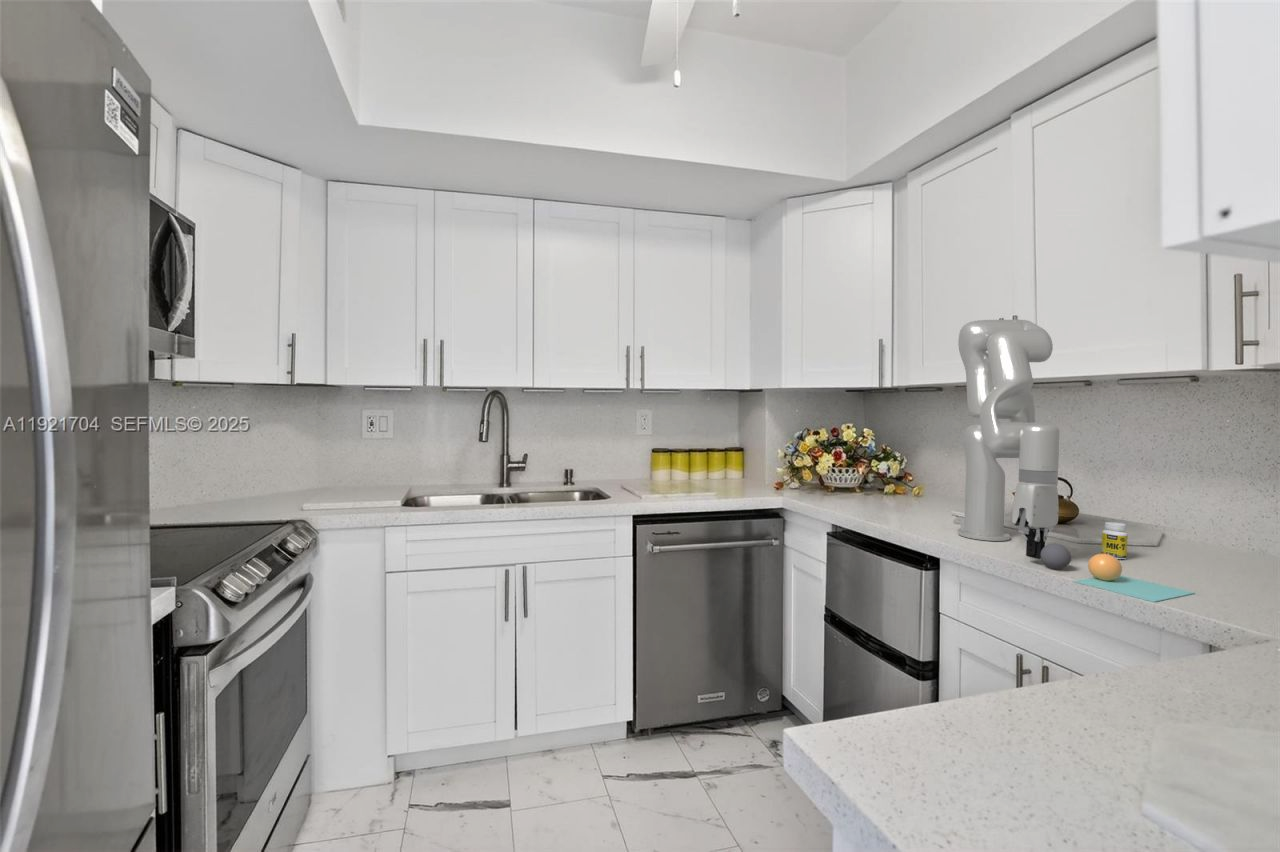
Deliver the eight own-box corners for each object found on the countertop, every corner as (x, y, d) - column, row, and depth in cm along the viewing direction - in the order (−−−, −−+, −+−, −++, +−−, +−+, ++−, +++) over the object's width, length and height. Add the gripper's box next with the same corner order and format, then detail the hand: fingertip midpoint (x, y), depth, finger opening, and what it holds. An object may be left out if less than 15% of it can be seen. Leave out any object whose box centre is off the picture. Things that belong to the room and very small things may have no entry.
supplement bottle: (1103, 558, 144) (1104, 523, 144) (1099, 554, 148) (1100, 520, 148) (1128, 561, 142) (1130, 526, 141) (1123, 557, 146) (1125, 522, 145)
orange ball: (1082, 552, 126) (1112, 557, 121) (1098, 550, 129) (1128, 555, 124) (1082, 578, 126) (1111, 585, 121) (1097, 576, 129) (1127, 582, 124)
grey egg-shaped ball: (1056, 542, 131) (1063, 568, 130) (1072, 541, 133) (1080, 566, 132) (1031, 546, 136) (1038, 571, 135) (1047, 544, 138) (1055, 569, 137)
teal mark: (1074, 581, 124) (1074, 580, 124) (1114, 574, 130) (1114, 573, 130) (1154, 602, 111) (1154, 601, 111) (1195, 593, 117) (1195, 592, 117)
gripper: (1042, 475, 144) (1039, 551, 145) (1000, 477, 138) (997, 556, 139) (1075, 478, 137) (1072, 558, 138) (1033, 481, 131) (1030, 564, 132)
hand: (1035, 557), depth 138 cm, fingers closed
